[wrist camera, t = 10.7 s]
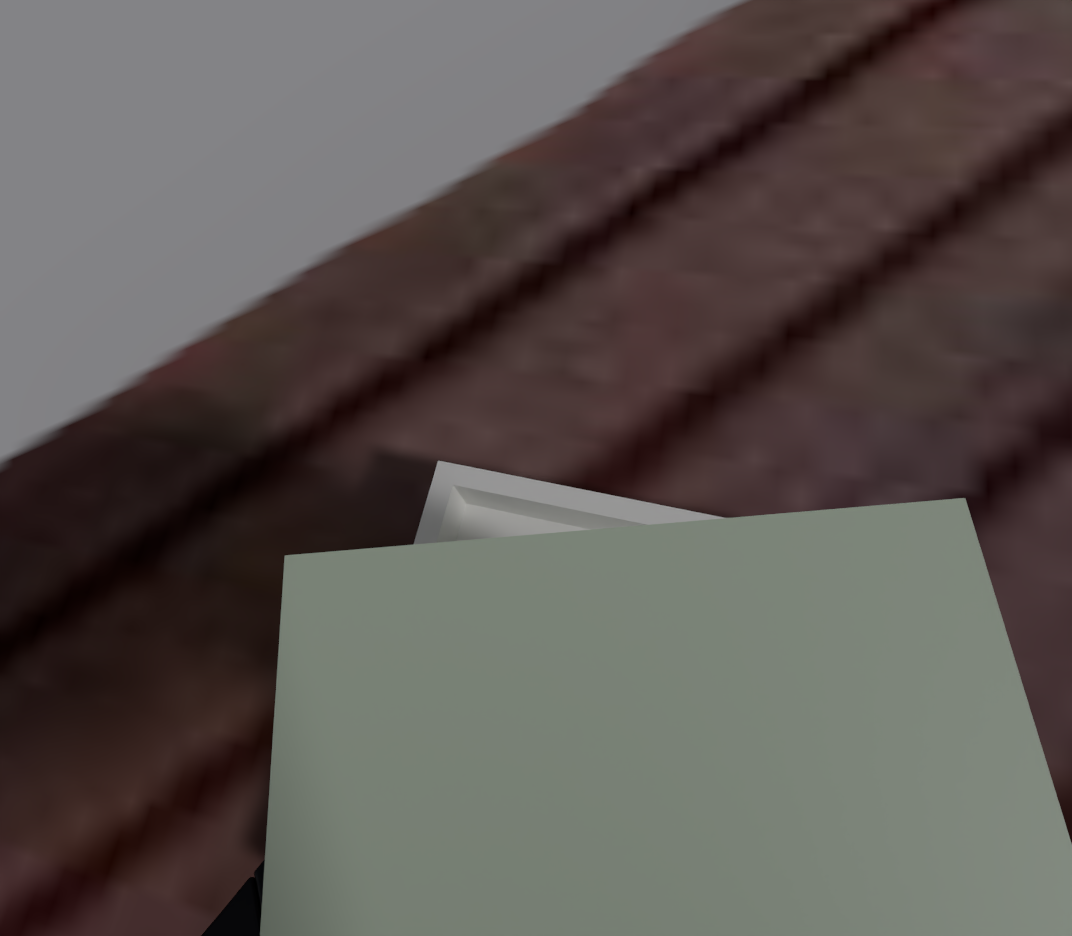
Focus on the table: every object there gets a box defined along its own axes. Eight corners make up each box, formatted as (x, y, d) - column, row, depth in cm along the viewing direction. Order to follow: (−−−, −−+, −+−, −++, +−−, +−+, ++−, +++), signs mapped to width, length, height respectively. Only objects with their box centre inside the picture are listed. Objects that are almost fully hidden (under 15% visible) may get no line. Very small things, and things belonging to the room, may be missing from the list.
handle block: (724, 847, 14) (1294, 1561, 3) (509, 860, 14) (219, 1558, 3) (691, 625, 16) (965, 497, 4) (498, 640, 16) (284, 555, 5)
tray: (800, 1052, 14) (844, 1130, 12) (338, 906, 16) (294, 948, 14) (840, 565, 18) (881, 549, 15) (456, 487, 20) (438, 460, 17)
